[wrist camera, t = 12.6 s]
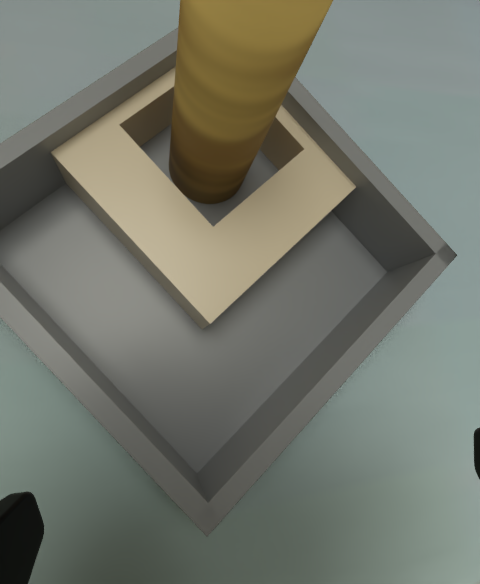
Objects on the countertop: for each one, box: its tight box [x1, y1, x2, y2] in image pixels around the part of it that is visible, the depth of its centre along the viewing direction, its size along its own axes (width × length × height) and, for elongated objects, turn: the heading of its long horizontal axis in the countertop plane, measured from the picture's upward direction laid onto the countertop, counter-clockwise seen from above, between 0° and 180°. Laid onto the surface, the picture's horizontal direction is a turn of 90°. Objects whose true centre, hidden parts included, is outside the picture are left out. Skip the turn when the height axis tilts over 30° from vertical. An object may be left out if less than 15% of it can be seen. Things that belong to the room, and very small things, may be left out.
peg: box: [169, 0, 333, 204], centre depth 15 cm, size 4×4×12 cm
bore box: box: [0, 28, 457, 536], centre depth 19 cm, size 16×16×5 cm
